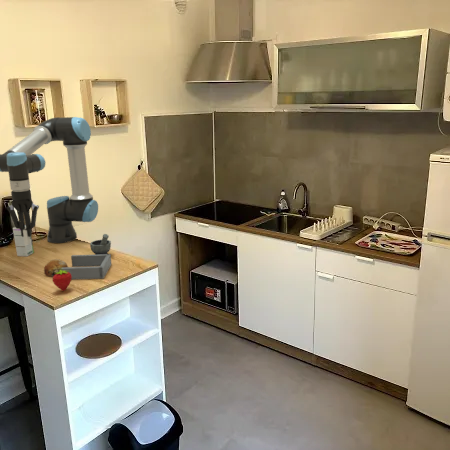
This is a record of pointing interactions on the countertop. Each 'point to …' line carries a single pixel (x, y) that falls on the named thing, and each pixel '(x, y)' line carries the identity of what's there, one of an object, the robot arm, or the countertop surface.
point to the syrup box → (22, 244)
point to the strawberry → (62, 279)
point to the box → (89, 272)
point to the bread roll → (54, 267)
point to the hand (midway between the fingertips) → (27, 243)
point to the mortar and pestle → (101, 245)
